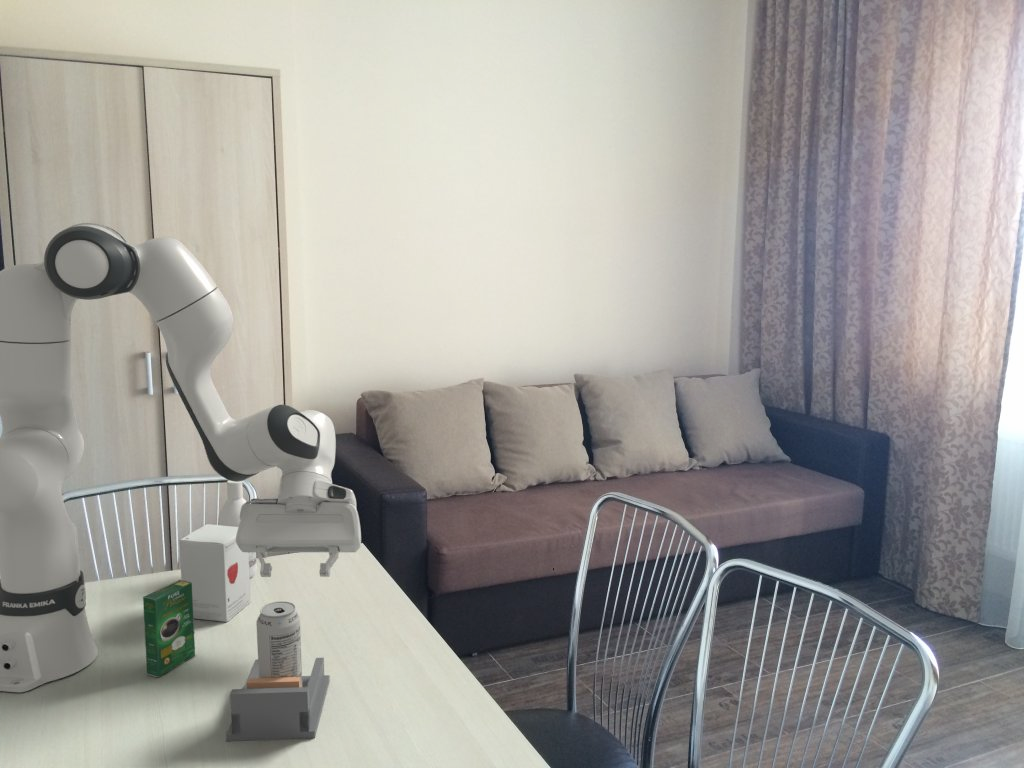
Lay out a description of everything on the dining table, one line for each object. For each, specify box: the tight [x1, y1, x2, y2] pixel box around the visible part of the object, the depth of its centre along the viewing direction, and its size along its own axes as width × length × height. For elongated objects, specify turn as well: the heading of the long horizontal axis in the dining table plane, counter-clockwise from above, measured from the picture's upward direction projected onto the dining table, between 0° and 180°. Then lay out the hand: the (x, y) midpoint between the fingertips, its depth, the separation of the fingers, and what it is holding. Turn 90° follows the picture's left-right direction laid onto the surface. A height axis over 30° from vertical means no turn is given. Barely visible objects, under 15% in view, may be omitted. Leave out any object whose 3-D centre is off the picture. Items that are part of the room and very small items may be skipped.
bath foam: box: [217, 479, 258, 579], centre depth 169 cm, size 7×7×20 cm
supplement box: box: [179, 523, 251, 623], centre depth 154 cm, size 9×9×15 cm
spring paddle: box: [247, 677, 301, 689], centre depth 118 cm, size 7×1×6 cm, turn 94°
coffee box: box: [142, 579, 196, 678], centre depth 134 cm, size 8×3×13 cm, turn 156°
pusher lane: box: [225, 657, 331, 742], centre depth 123 cm, size 12×15×7 cm
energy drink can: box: [255, 601, 303, 687], centre depth 121 cm, size 6×6×15 cm
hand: (294, 575), depth 136 cm, fingers open, 8 cm apart
